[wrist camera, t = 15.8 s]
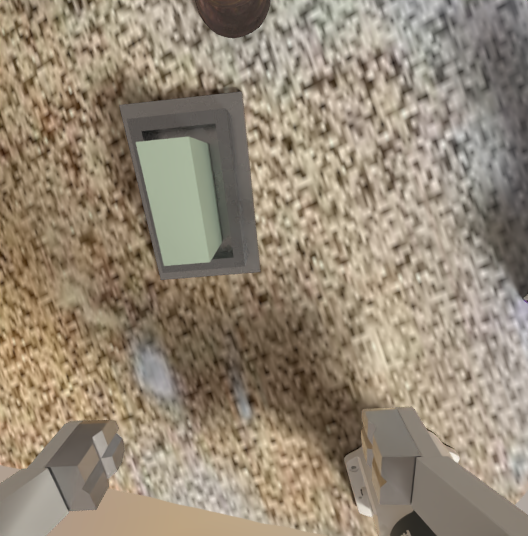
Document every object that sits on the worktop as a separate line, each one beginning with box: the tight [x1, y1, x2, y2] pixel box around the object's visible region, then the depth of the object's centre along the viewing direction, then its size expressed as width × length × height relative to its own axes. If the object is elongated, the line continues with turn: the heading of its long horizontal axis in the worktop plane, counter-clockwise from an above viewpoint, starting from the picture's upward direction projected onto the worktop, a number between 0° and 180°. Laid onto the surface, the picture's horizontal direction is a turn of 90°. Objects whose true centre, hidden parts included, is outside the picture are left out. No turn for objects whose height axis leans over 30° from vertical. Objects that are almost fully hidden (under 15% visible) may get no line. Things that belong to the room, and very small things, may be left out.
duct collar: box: [119, 92, 261, 280], centre depth 32 cm, size 20×13×3 cm, turn 5°
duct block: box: [136, 137, 223, 266], centre depth 29 cm, size 4×11×8 cm, turn 5°
